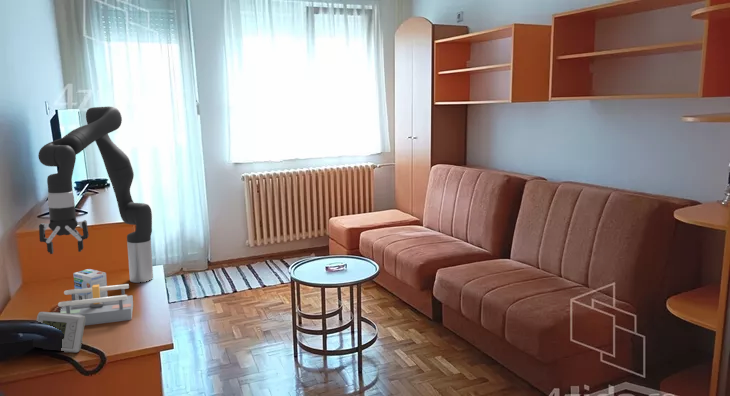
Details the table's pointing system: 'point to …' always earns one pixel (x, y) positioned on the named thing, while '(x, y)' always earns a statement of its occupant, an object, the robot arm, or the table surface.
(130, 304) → the breaker panel
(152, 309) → the table surface
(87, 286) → the light bulb box
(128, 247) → the robot arm
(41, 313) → the digital clock
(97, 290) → the breaker toggle
